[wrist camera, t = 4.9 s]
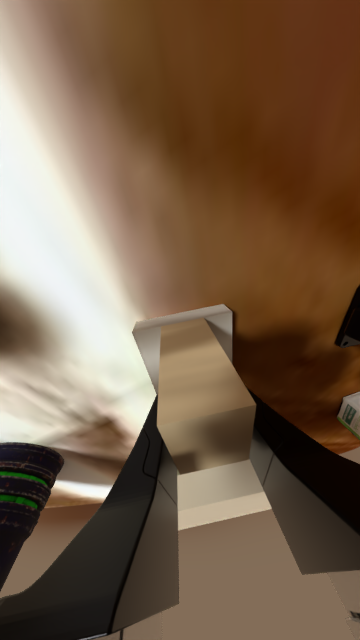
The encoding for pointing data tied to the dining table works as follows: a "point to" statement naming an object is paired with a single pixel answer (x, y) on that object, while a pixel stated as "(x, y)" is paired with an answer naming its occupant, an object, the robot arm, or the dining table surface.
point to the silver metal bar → (197, 387)
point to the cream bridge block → (219, 494)
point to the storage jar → (23, 495)
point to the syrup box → (351, 413)
